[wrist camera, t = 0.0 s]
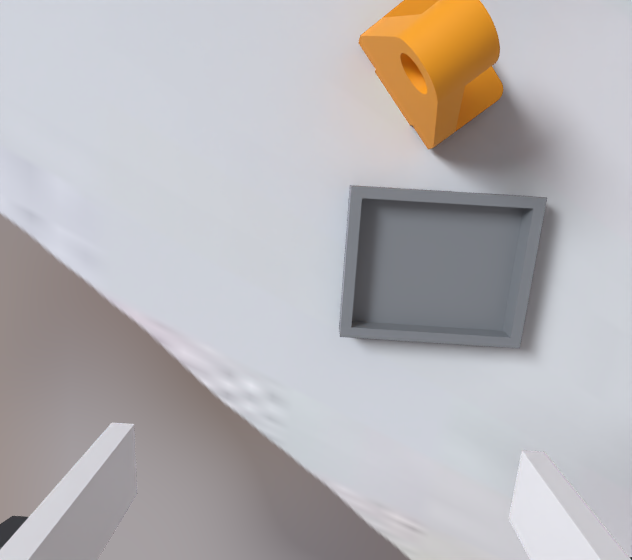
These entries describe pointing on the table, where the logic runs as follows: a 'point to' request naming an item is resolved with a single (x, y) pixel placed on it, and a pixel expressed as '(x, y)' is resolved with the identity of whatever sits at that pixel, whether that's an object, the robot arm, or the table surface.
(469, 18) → the bracket
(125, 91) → the table surface
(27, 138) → the table surface
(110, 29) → the table surface
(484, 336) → the tray
